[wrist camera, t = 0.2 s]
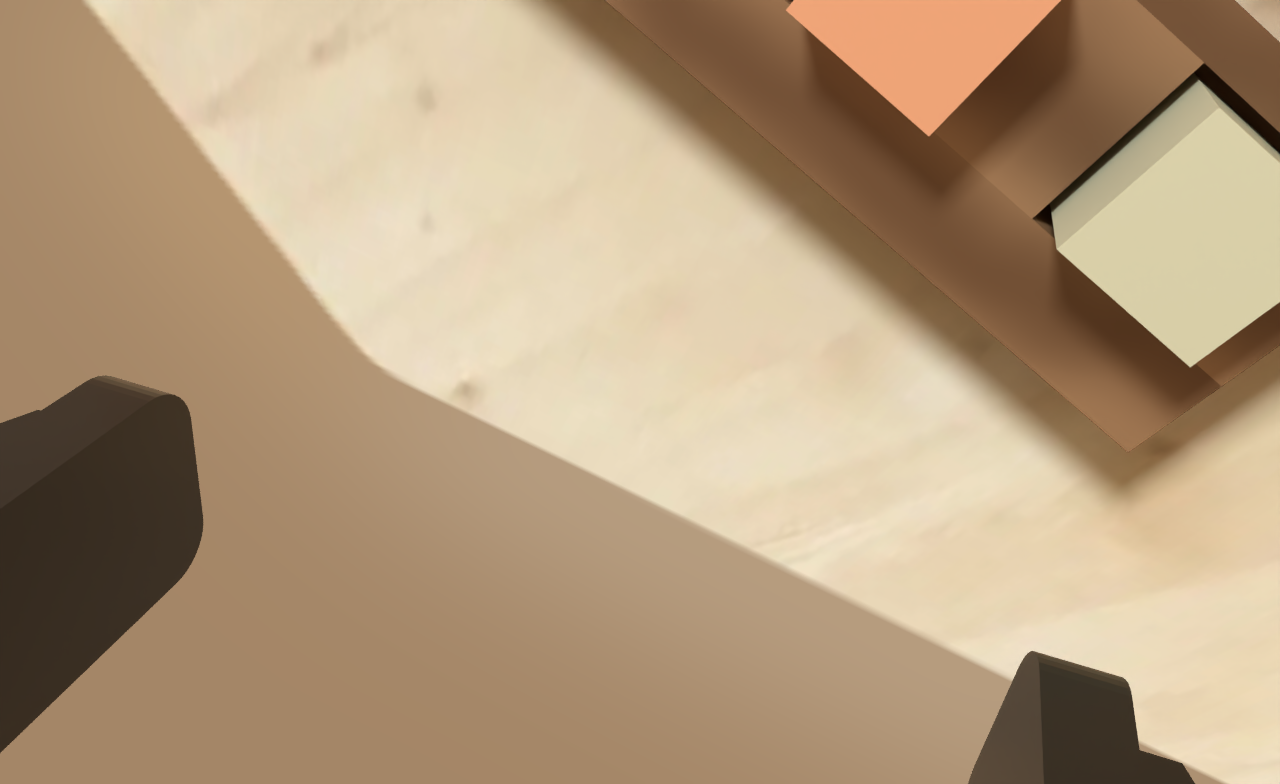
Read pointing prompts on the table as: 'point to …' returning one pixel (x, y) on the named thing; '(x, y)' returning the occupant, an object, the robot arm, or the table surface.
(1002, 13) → the terracotta button
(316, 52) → the table surface
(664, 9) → the button panel
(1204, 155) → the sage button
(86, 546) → the robot arm
